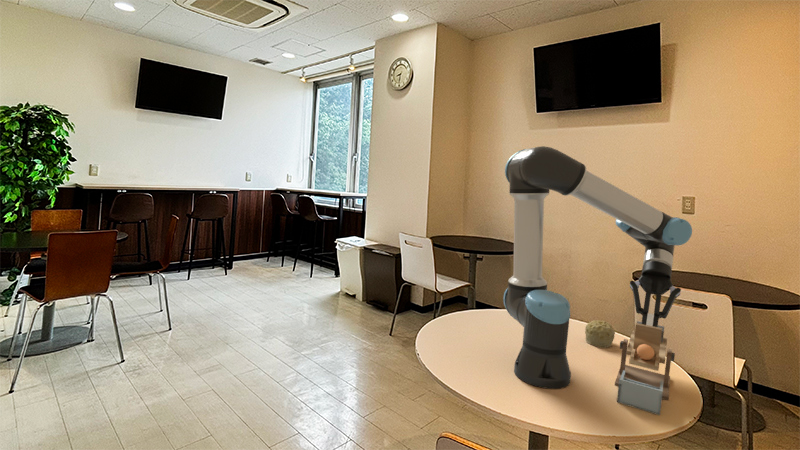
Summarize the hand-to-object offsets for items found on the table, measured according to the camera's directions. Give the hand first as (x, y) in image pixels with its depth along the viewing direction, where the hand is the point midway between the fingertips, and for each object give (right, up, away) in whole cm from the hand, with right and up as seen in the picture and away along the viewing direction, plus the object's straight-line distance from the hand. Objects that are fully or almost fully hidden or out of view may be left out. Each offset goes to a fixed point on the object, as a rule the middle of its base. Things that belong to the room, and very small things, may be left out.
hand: (648, 336), depth 110 cm
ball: (-3, -3, -4) cm, 6 cm away
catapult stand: (+1, -14, +4) cm, 14 cm away
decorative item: (+2, -11, +31) cm, 33 cm away
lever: (+2, -5, +4) cm, 6 cm away
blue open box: (-7, -15, -7) cm, 18 cm away
